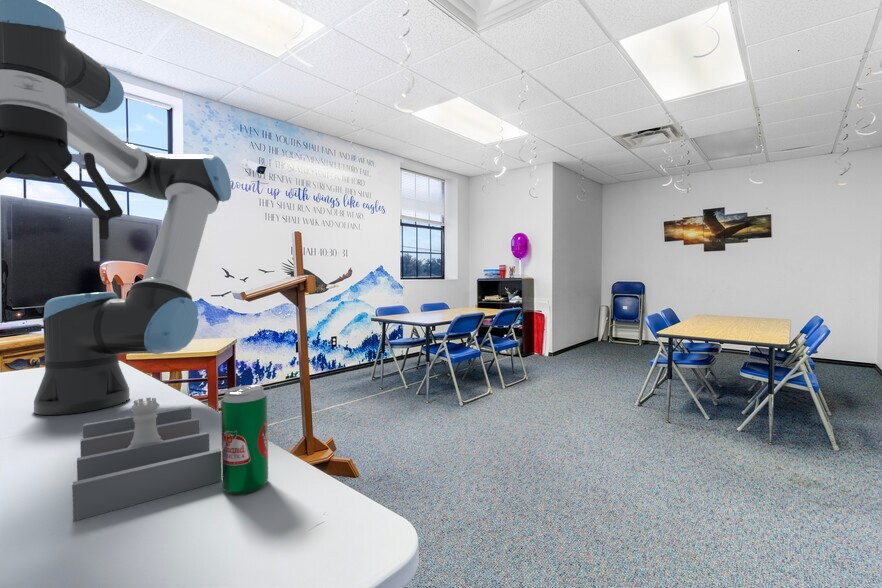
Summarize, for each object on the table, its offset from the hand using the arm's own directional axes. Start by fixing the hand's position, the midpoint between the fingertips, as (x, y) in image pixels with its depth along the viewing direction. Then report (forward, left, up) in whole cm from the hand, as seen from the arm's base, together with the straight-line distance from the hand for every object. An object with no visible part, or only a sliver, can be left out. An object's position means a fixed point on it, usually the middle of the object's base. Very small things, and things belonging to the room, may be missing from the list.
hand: (36, 259), depth 60 cm
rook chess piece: (+14, +12, -28) cm, 33 cm away
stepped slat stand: (+14, +12, -29) cm, 34 cm away
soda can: (+30, +21, -29) cm, 46 cm away
